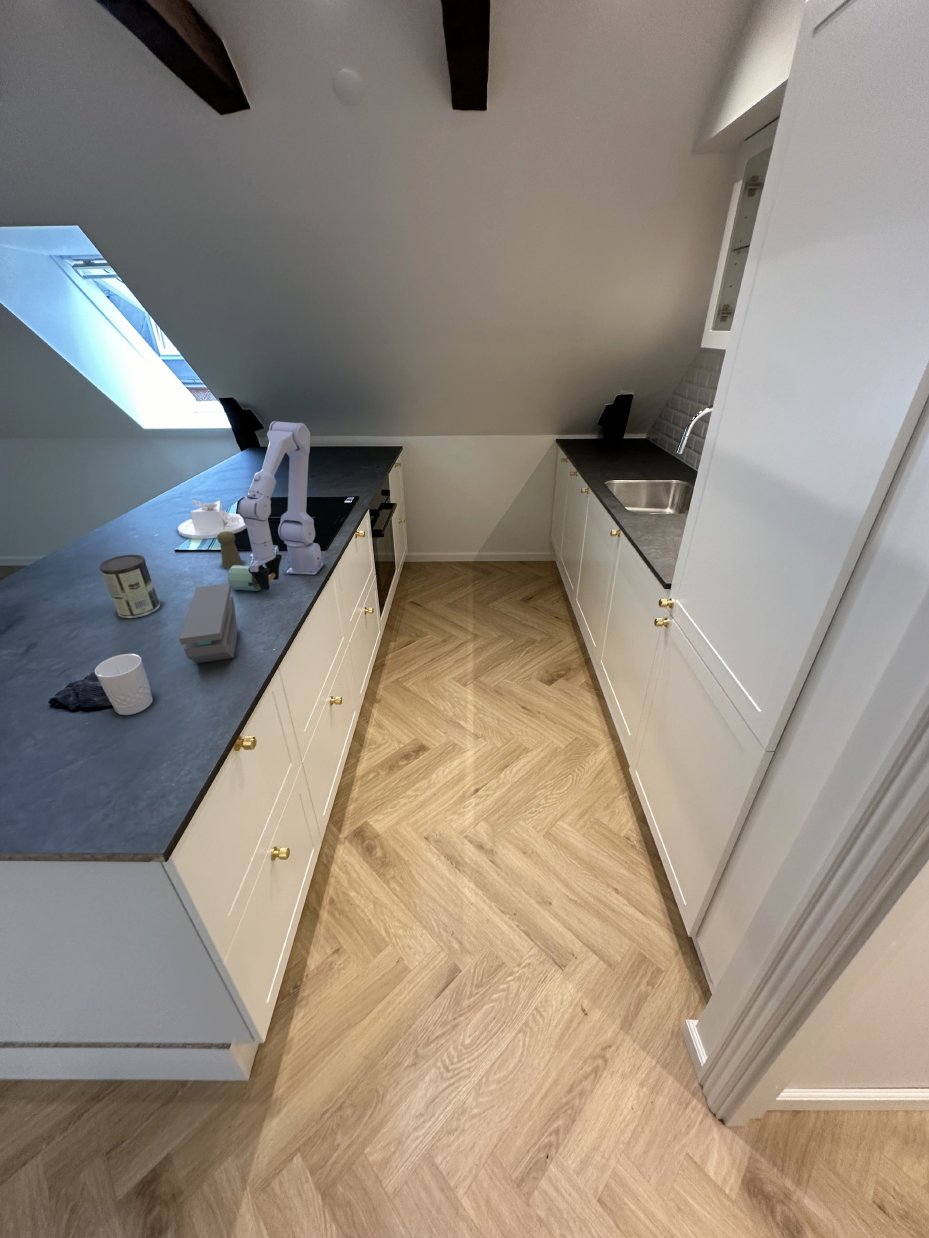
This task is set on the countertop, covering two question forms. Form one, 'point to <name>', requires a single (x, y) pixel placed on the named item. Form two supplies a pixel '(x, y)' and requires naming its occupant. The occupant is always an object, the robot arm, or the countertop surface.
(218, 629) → the grey box
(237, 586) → the bucket
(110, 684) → the white cup
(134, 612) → the coffee can
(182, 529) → the dish
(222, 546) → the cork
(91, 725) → the countertop surface
